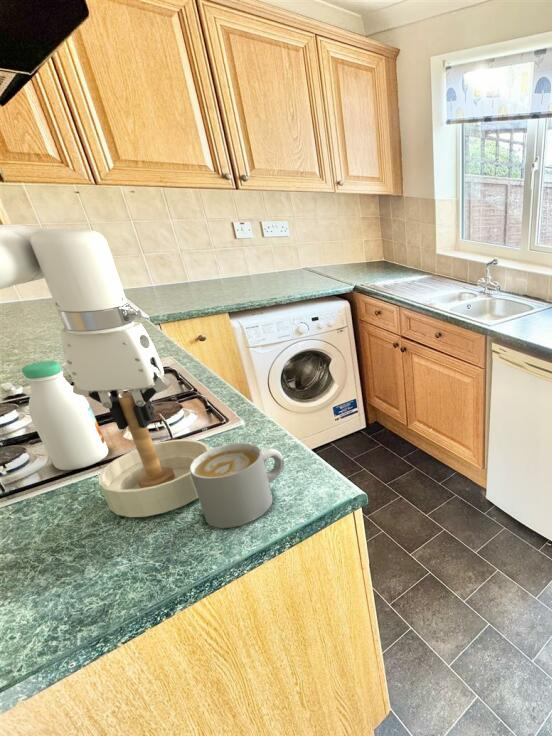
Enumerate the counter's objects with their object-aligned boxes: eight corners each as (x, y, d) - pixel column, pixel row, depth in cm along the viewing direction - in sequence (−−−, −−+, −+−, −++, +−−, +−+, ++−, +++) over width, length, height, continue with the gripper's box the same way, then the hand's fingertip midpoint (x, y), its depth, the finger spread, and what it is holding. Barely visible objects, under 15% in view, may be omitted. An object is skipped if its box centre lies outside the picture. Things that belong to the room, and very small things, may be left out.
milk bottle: (106, 463, 81) (65, 368, 72) (50, 476, 77) (0, 377, 68) (112, 444, 86) (75, 354, 78) (60, 455, 82) (15, 361, 74)
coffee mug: (214, 537, 66) (198, 486, 62) (198, 505, 72) (182, 457, 68) (301, 499, 75) (292, 453, 71) (280, 474, 81) (271, 429, 77)
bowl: (94, 498, 72) (81, 470, 70) (191, 456, 84) (183, 431, 82) (137, 534, 66) (124, 504, 63) (235, 482, 78) (228, 456, 75)
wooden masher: (133, 483, 74) (99, 396, 66) (166, 468, 78) (137, 385, 70) (148, 493, 72) (114, 404, 64) (180, 478, 76) (152, 393, 68)
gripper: (172, 310, 67) (201, 410, 75) (47, 311, 63) (91, 417, 71) (150, 324, 61) (184, 431, 69) (9, 326, 57) (62, 441, 64)
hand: (136, 423), depth 70 cm, fingers closed on wooden masher
